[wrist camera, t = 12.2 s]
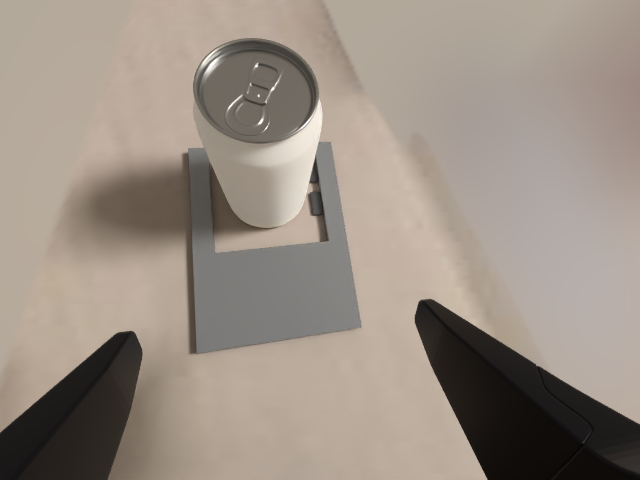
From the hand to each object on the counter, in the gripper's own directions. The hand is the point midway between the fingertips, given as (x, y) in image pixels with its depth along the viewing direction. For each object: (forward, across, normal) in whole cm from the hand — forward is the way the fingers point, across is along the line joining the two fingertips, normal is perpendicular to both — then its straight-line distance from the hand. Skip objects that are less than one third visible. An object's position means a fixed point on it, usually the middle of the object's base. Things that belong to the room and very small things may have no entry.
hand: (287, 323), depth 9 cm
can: (+17, 0, +2) cm, 17 cm away
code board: (+14, 0, +5) cm, 15 cm away
